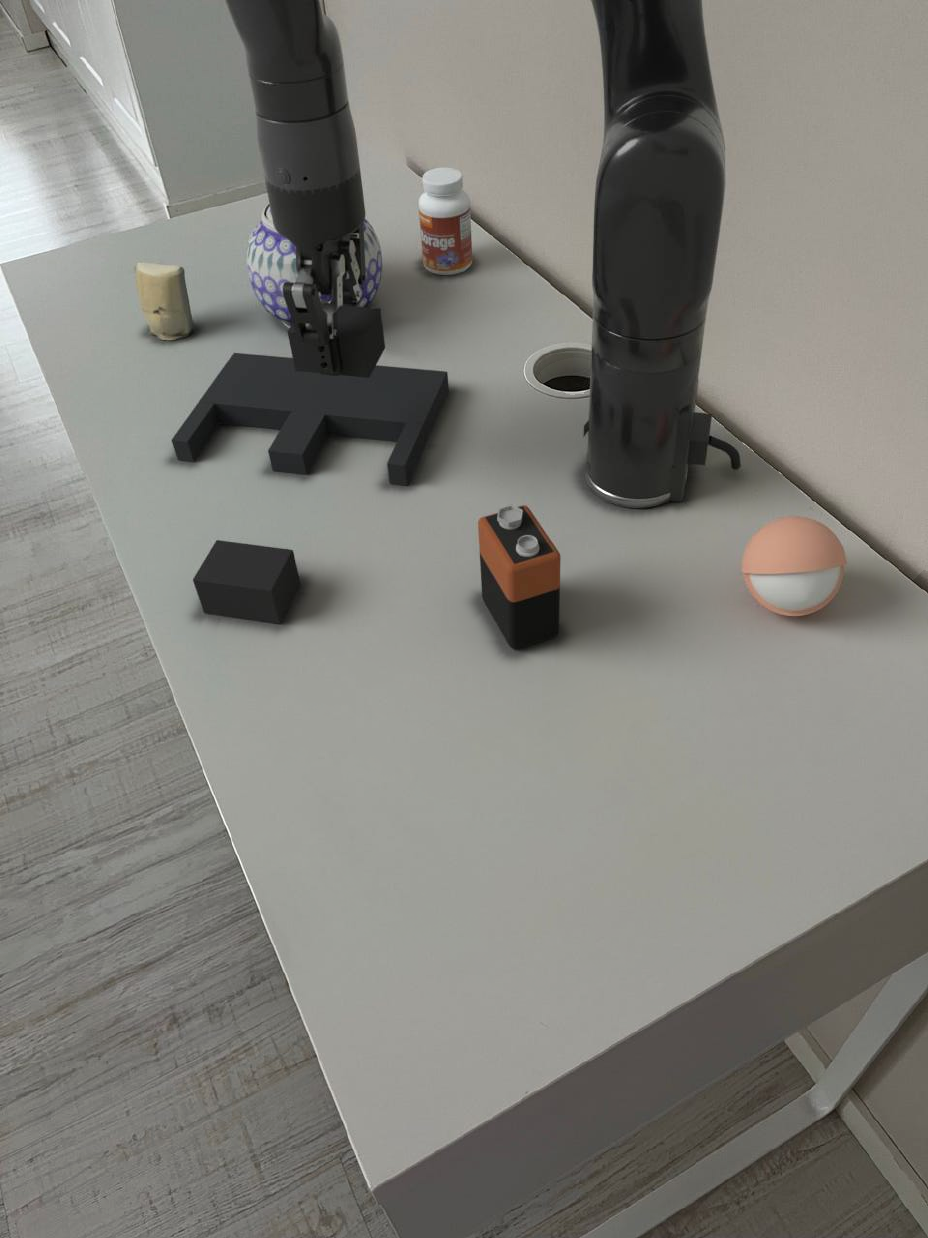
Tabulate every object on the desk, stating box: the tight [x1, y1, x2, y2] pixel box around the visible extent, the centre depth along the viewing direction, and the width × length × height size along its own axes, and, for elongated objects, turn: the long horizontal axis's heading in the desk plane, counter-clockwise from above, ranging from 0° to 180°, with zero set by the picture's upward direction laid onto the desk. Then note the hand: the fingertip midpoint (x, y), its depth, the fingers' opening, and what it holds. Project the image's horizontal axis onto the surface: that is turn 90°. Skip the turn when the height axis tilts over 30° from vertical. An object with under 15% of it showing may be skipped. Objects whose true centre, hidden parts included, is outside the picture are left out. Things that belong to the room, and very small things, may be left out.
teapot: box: [246, 203, 383, 329], centre depth 116 cm, size 25×15×15 cm, turn 21°
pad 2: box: [287, 306, 386, 378], centre depth 91 cm, size 7×5×4 cm
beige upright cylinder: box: [133, 261, 195, 341], centre depth 117 cm, size 6×5×8 cm
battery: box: [477, 504, 561, 650], centre depth 81 cm, size 4×7×10 cm, turn 21°
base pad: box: [171, 352, 450, 487], centre depth 104 cm, size 24×16×2 cm, turn 76°
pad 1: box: [192, 539, 302, 625], centre depth 87 cm, size 7×5×4 cm
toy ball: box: [741, 515, 848, 617], centre depth 81 cm, size 8×8×8 cm
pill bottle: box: [418, 167, 473, 276], centre depth 123 cm, size 6×6×11 cm
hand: (340, 355), depth 92 cm, fingers closed on pad 2, 5 cm apart
